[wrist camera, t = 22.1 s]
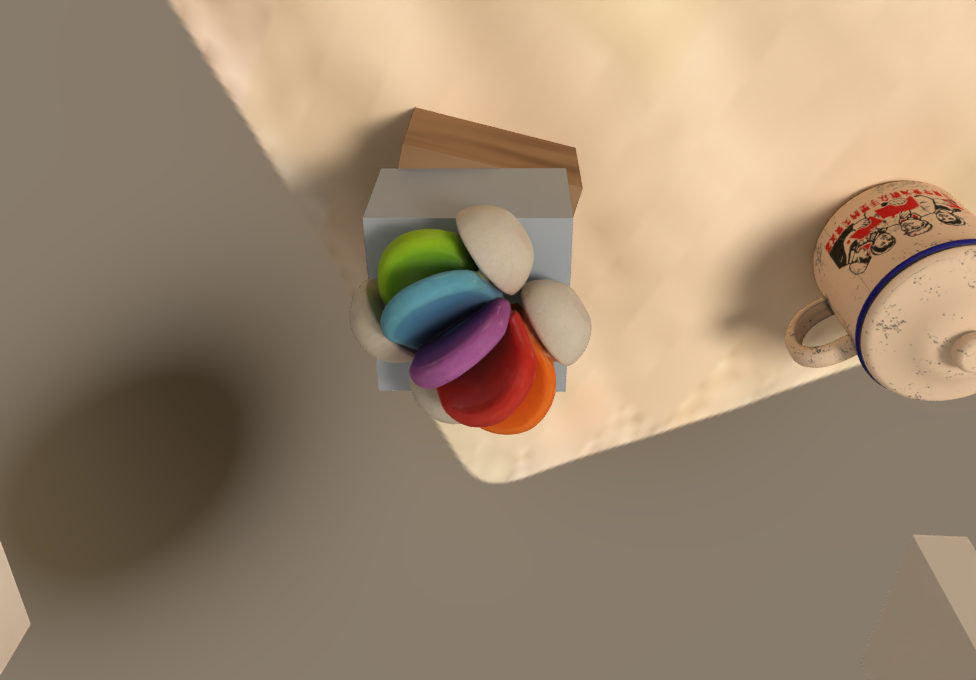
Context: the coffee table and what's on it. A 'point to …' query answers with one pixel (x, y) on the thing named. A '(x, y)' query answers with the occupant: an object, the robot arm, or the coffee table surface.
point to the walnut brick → (482, 148)
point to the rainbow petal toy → (471, 322)
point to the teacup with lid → (898, 291)
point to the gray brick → (434, 205)
